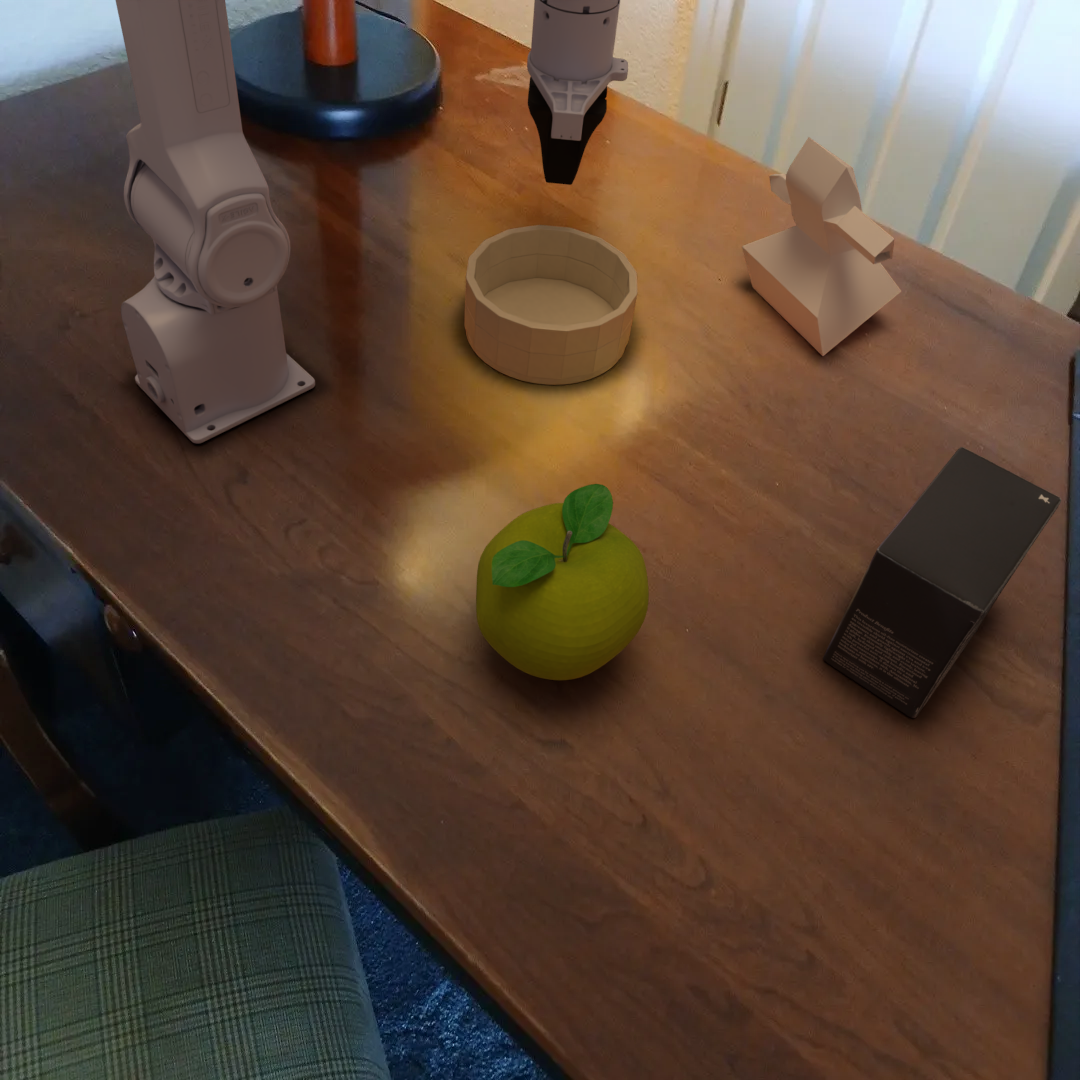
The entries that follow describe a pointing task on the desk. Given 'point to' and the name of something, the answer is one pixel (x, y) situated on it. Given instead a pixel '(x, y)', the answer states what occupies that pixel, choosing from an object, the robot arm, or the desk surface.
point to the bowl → (549, 304)
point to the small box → (937, 579)
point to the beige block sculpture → (822, 252)
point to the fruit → (562, 588)
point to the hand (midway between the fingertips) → (559, 178)
